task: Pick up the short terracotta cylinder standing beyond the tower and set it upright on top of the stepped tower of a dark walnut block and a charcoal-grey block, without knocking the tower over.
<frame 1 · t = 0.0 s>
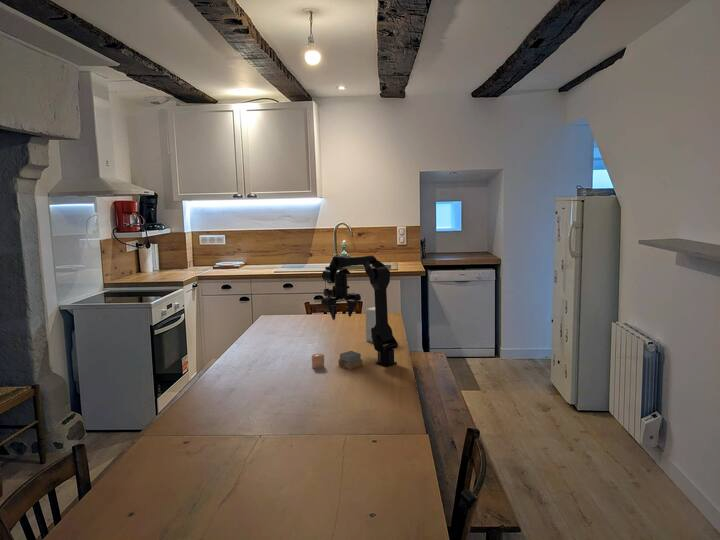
hand: (341, 318, 242), 15 cm above the table, tool pointing down, fingers open, 9 cm apart
grey block: (350, 359, 221), point 3 cm above the table, touching walnut block
walnut block: (350, 366, 221), on the table, touching grey block
skincare box: (375, 340, 260), on the table
terracotta cylinder: (318, 367, 220), on the table
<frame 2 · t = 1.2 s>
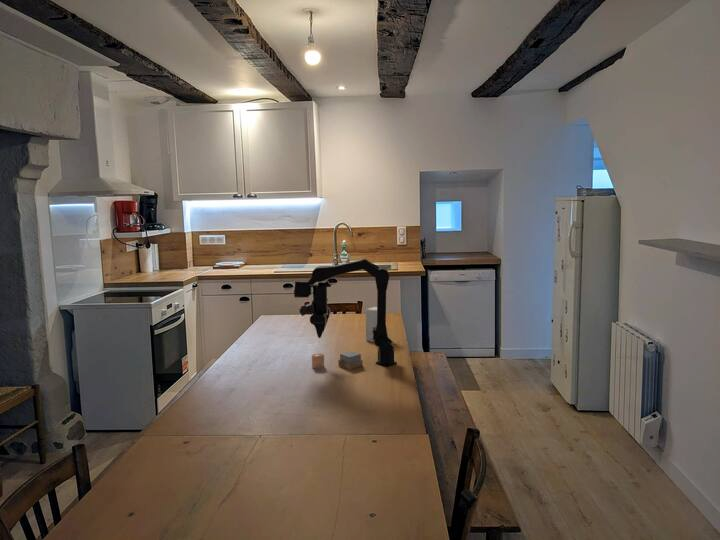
hand: (320, 334, 222), 13 cm above the table, tool pointing down, fingers open, 9 cm apart
grey block: (350, 359, 220), point 3 cm above the table
walnut block: (350, 366, 221), on the table
everything else where it was.
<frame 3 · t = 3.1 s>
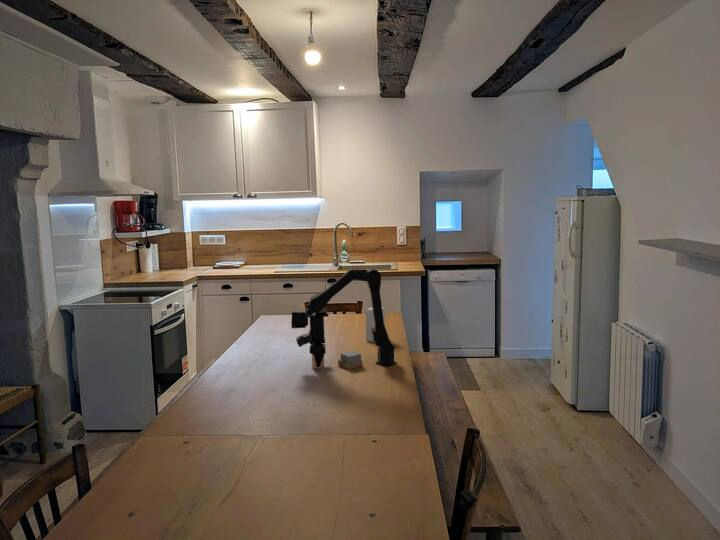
hand: (318, 364, 220), 1 cm above the table, tool pointing down, fingers closed on terracotta cylinder, 5 cm apart
grey block: (350, 359, 221), point 3 cm above the table, touching walnut block
walnut block: (350, 367, 221), on the table, touching grey block
terracotta cylinder: (318, 367, 220), on the table, touching gripper
everything else where it was.
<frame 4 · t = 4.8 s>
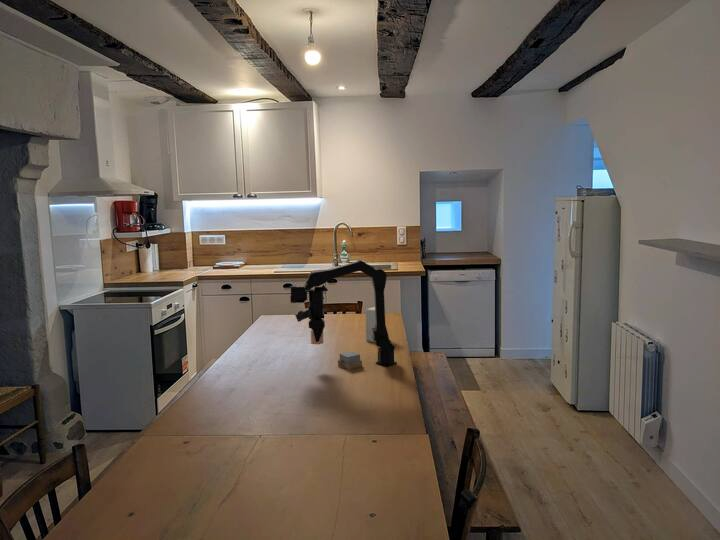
hand: (317, 340, 218), 11 cm above the table, tool pointing down, fingers closed on terracotta cylinder, 5 cm apart
terracotta cylinder: (317, 342, 219), point 10 cm above the table, touching gripper
everything else where it was.
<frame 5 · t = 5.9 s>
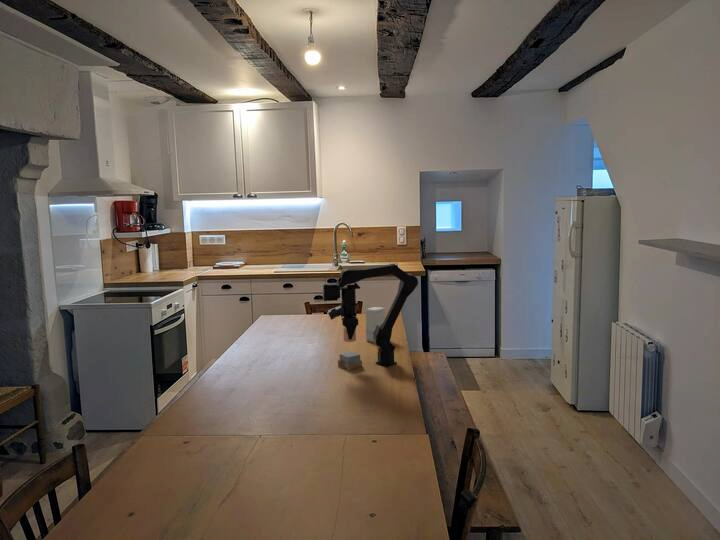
hand: (349, 337, 219), 12 cm above the table, tool pointing down, fingers closed on terracotta cylinder, 5 cm apart
terracotta cylinder: (349, 340, 219), point 11 cm above the table, touching gripper
everything else where it was.
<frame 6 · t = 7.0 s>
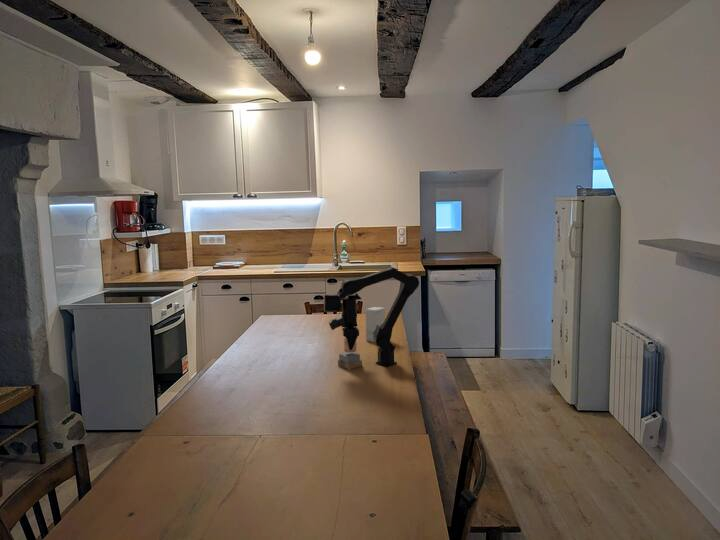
hand: (350, 348, 220), 8 cm above the table, tool pointing down, fingers closed on terracotta cylinder, 5 cm apart
terracotta cylinder: (350, 350, 220), point 6 cm above the table, touching gripper
everything else where it was.
when the fingers open (7 cm above the table, at t = 7.3 s): terracotta cylinder drops 2 cm, resting on grey block.
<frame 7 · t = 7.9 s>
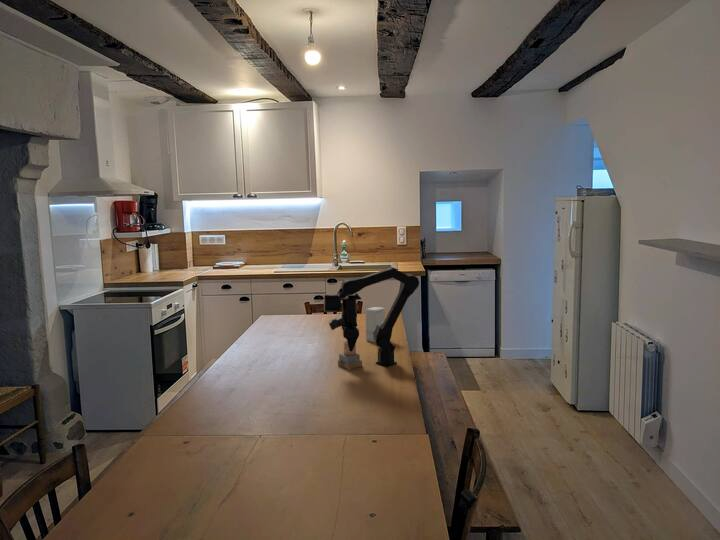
hand: (350, 348, 220), 7 cm above the table, tool pointing down, fingers open, 9 cm apart
grey block: (349, 360, 220), point 2 cm above the table, touching terracotta cylinder, walnut block
terracotta cylinder: (349, 354, 220), point 5 cm above the table, touching grey block
everything else where it was.
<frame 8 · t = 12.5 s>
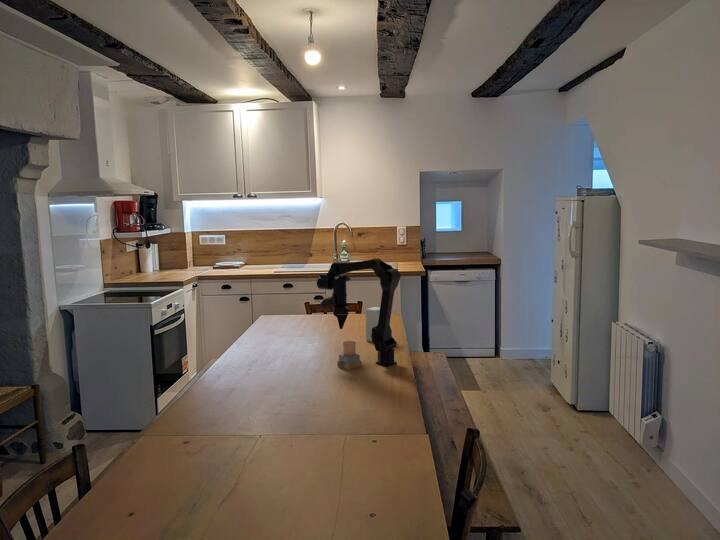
hand: (340, 326, 234), 13 cm above the table, tool pointing down, fingers open, 9 cm apart
terracotta cylinder: (349, 354, 219), point 5 cm above the table, touching grey block
everything else where it was.
at the end: terracotta cylinder 0.1 cm off-centre on the walnut block, point 5.6 cm above the walnut block's base; terracotta cylinder tilted 1°; grey block 0.0 cm off-centre on the walnut block, point 3.0 cm above the walnut block's base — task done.
